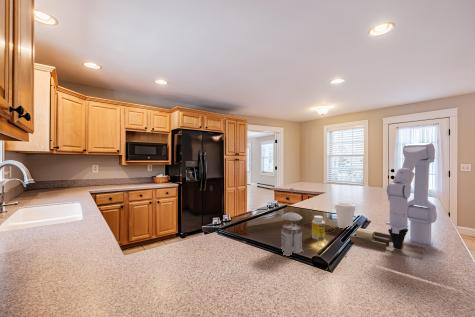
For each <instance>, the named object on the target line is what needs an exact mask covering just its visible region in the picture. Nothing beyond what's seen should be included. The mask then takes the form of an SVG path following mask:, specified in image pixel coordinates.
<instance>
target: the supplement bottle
mask: <svg viewBox="0 0 475 317" xmlns="http://www.w3.org/2000/svg"><path fill="white" fill-rule="evenodd" d="M325 224H326V222H325V221H324V217H323V216H322V215H313V219H312V220H311V238H312V239H314V240H317V241H318V240H319V241H322V239H323V240H325V239H324V238H325V234H326V229H325V228H326V225H325Z"/></svg>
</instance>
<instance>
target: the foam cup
mask: <svg viewBox="0 0 475 317" xmlns="http://www.w3.org/2000/svg"><path fill="white" fill-rule="evenodd" d="M334 205H335V206H334V208H335V213H336V222H337V228H338V227H339V228H338V229H340V228H346V227H348V226H352V227H353V224H354V223H353V222H354V216H355V212H356V204H353V203H349V202H335V203H334Z"/></svg>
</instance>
